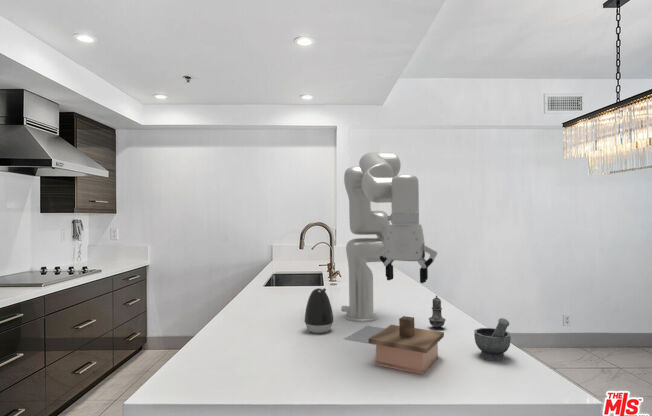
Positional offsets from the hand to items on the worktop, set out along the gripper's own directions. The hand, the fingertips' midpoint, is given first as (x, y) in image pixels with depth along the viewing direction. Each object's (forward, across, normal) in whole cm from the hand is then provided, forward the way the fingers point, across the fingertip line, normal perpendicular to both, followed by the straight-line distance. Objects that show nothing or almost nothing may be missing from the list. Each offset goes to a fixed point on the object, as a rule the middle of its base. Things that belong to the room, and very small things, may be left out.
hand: (406, 281), depth 111 cm
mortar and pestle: (+22, +20, +15) cm, 34 cm away
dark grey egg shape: (+22, -37, +12) cm, 45 cm away
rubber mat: (+22, -16, +17) cm, 32 cm away
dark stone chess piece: (+22, -2, +35) cm, 41 cm away
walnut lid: (+16, 0, 0) cm, 16 cm away
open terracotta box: (+22, 0, 0) cm, 22 cm away
